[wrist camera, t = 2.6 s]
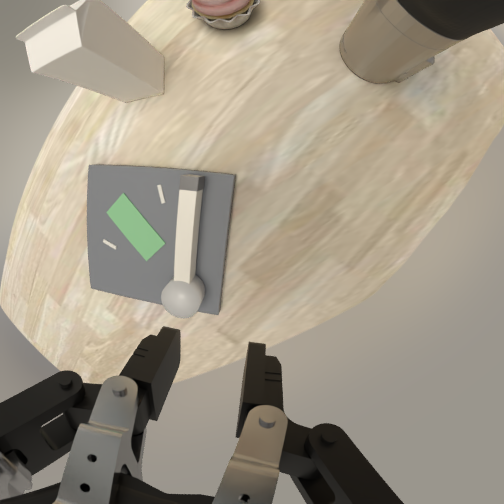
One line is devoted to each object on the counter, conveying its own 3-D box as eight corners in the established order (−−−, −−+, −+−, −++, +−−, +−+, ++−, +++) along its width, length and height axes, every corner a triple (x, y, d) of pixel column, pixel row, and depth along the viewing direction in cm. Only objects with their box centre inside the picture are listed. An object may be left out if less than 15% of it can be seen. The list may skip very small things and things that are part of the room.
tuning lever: (204, 308, 37) (198, 321, 34) (169, 301, 37) (161, 314, 34) (216, 177, 32) (210, 178, 28) (176, 173, 32) (167, 174, 28)
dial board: (235, 174, 33) (234, 175, 32) (219, 309, 39) (218, 315, 38) (94, 164, 34) (88, 165, 32) (95, 284, 39) (90, 288, 38)
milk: (164, 94, 31) (58, 35, 10) (124, 103, 31) (6, 69, 10) (164, 56, 29) (74, -22, 8) (126, 66, 29) (21, 12, 8)
